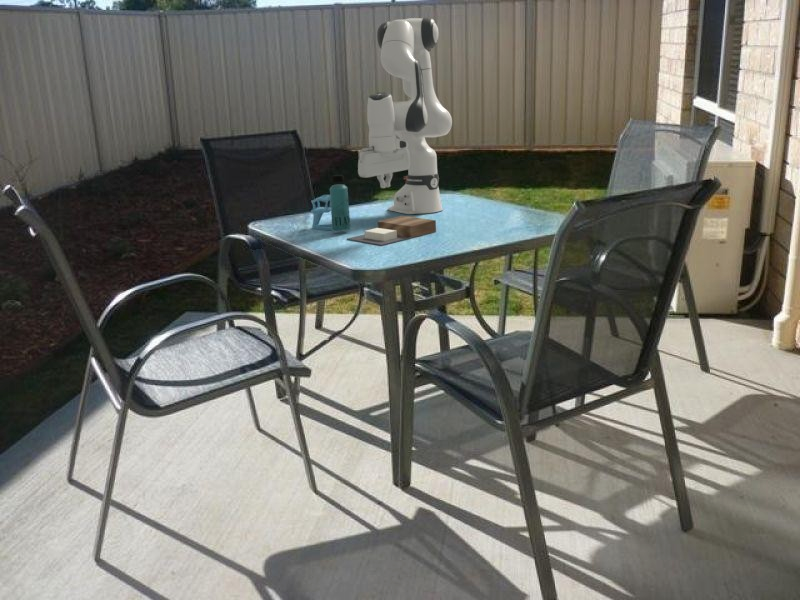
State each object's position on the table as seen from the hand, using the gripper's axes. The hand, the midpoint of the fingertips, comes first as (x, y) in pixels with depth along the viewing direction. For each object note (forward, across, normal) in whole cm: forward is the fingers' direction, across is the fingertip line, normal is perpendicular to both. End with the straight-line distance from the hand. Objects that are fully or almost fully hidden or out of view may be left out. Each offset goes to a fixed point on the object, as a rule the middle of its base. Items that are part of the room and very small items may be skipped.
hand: (385, 187), depth 270 cm
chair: (+17, -2, +31) cm, 35 cm away
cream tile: (+14, -4, -1) cm, 14 cm away
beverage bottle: (+17, -4, +19) cm, 26 cm away
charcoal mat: (+16, -5, 0) cm, 17 cm away
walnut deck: (+17, +8, 0) cm, 19 cm away
